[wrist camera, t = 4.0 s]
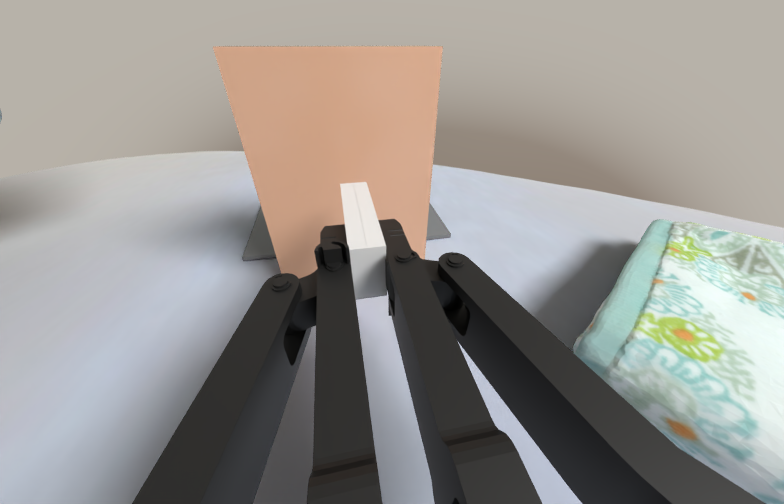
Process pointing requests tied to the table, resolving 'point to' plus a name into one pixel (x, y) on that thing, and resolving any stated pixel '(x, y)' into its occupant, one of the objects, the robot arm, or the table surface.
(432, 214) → the charcoal mat
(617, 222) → the table surface
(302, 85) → the terracotta slab
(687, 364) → the towel
